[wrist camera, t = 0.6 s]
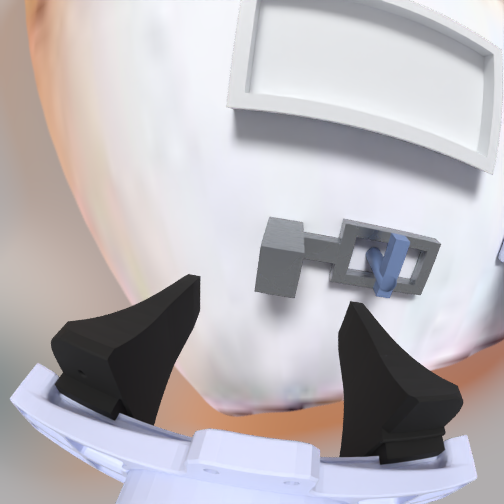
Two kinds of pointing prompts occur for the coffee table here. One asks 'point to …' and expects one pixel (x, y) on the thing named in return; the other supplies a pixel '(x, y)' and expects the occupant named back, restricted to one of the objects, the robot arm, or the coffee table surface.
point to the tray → (372, 72)
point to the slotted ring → (331, 256)
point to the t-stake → (388, 264)
